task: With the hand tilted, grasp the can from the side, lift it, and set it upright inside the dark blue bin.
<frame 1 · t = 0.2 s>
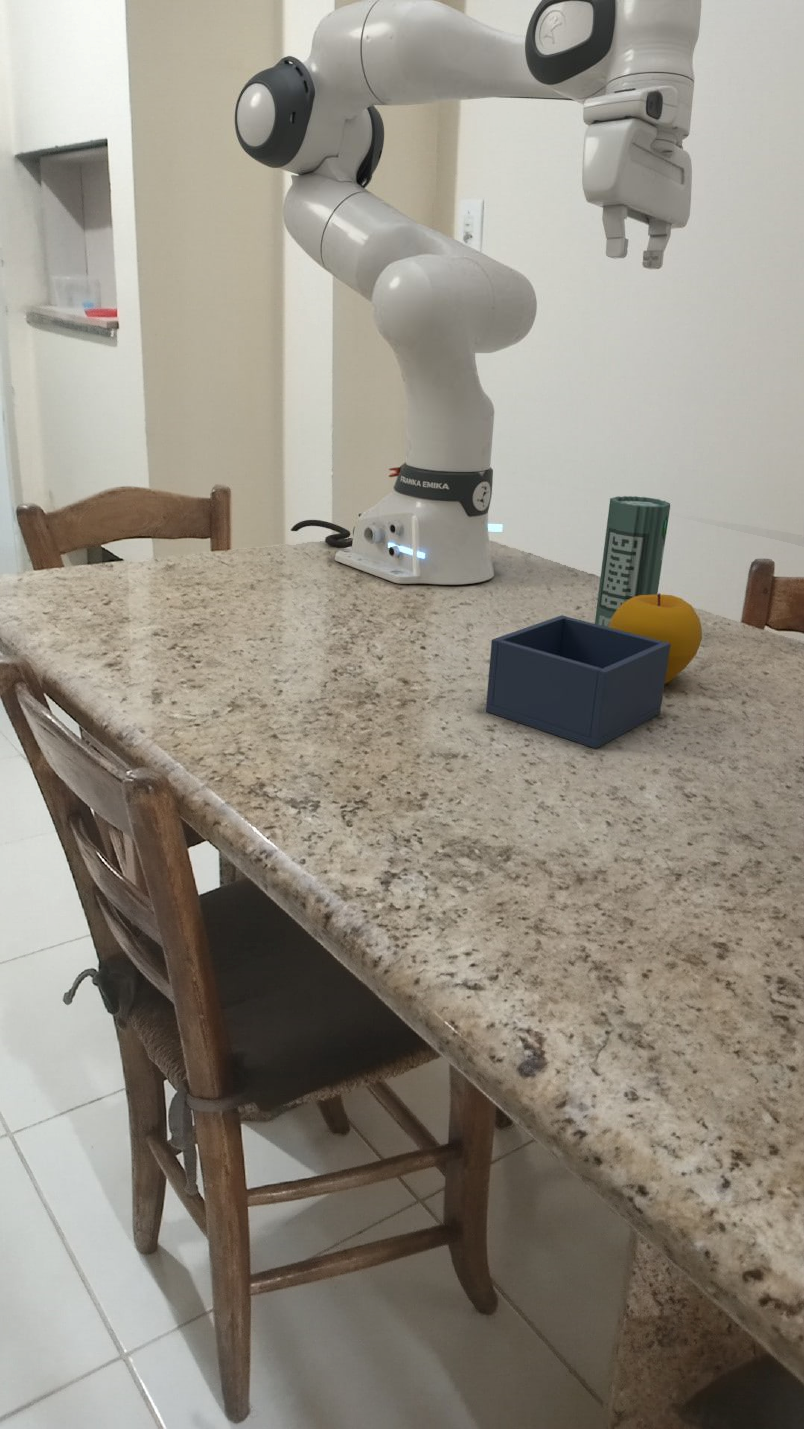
hand: (634, 263, 110), 39 cm above the table, tool pointing down, fingers open, 8 cm apart
apple: (648, 682, 102), on the table
dark blue bin: (573, 712, 92), on the table
can: (621, 636, 116), on the table
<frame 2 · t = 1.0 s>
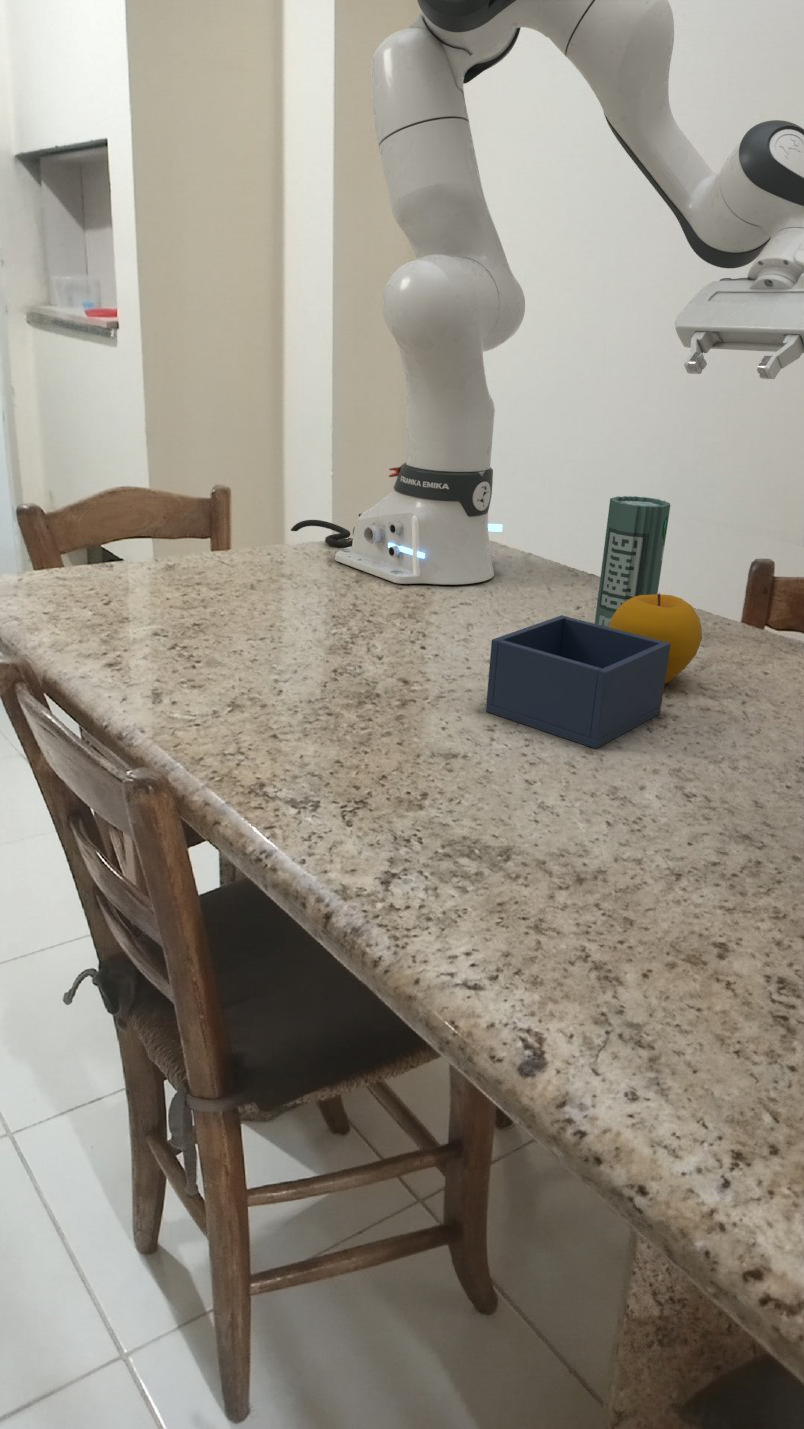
hand: (726, 372, 112), 28 cm above the table, tool tilted 45°, fingers open, 8 cm apart
nothing on the table moved.
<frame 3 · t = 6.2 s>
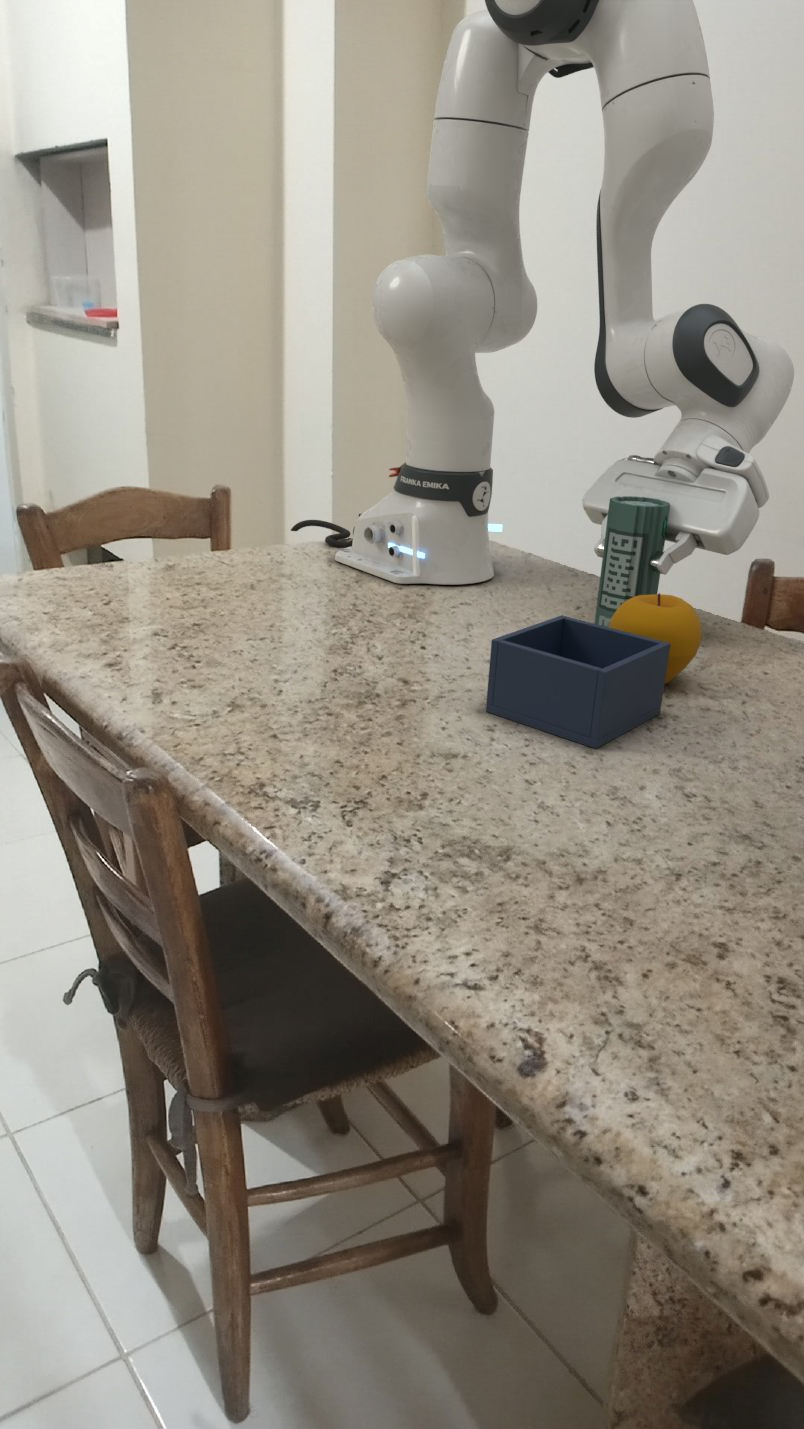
hand: (628, 562, 112), 8 cm above the table, tool tilted 45°, fingers closed on can, 6 cm apart
can: (621, 636, 116), on the table, touching gripper
everything else where it was.
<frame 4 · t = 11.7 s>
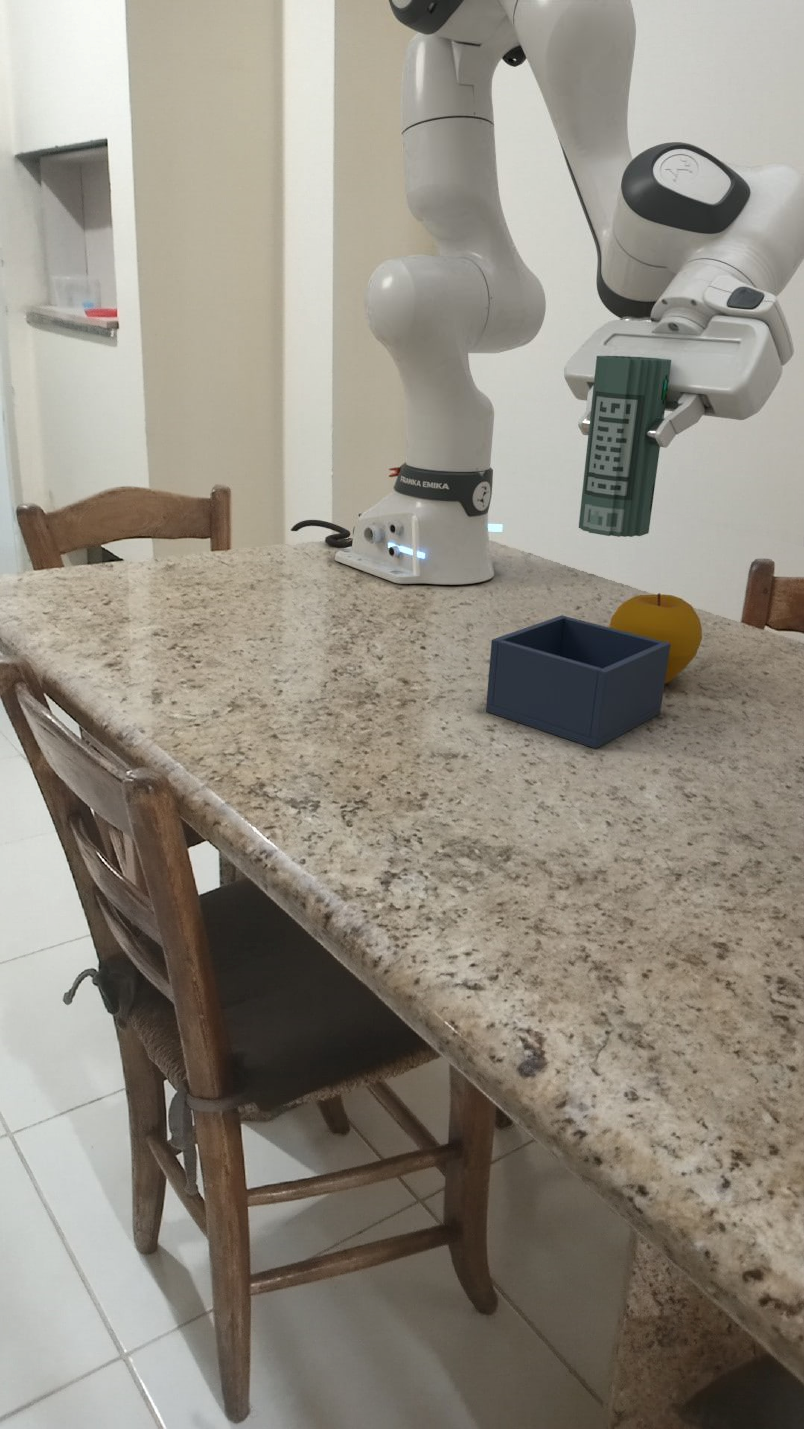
hand: (620, 436, 91), 24 cm above the table, tool tilted 45°, fingers closed on can, 6 cm apart
can: (613, 531, 94), point 15 cm above the table, touching gripper
everything else where it was.
when the fingers open (9 cm above the table, at t = 17.3 s): can stays where it is, resting on dark blue bin.
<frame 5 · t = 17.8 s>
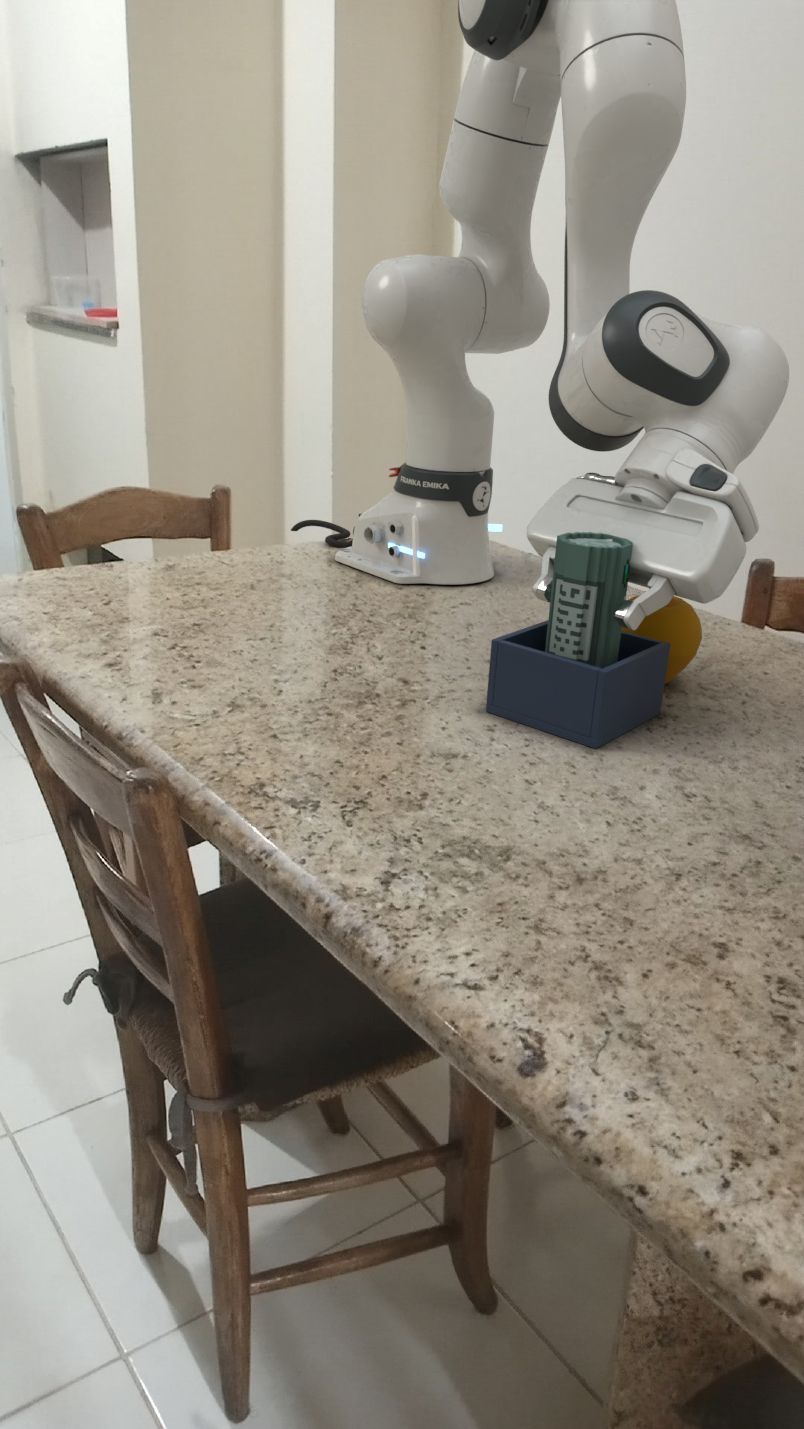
hand: (580, 610, 89), 10 cm above the table, tool tilted 45°, fingers open, 8 cm apart
can: (574, 706, 92), point 1 cm above the table, touching dark blue bin
everything else where it was.
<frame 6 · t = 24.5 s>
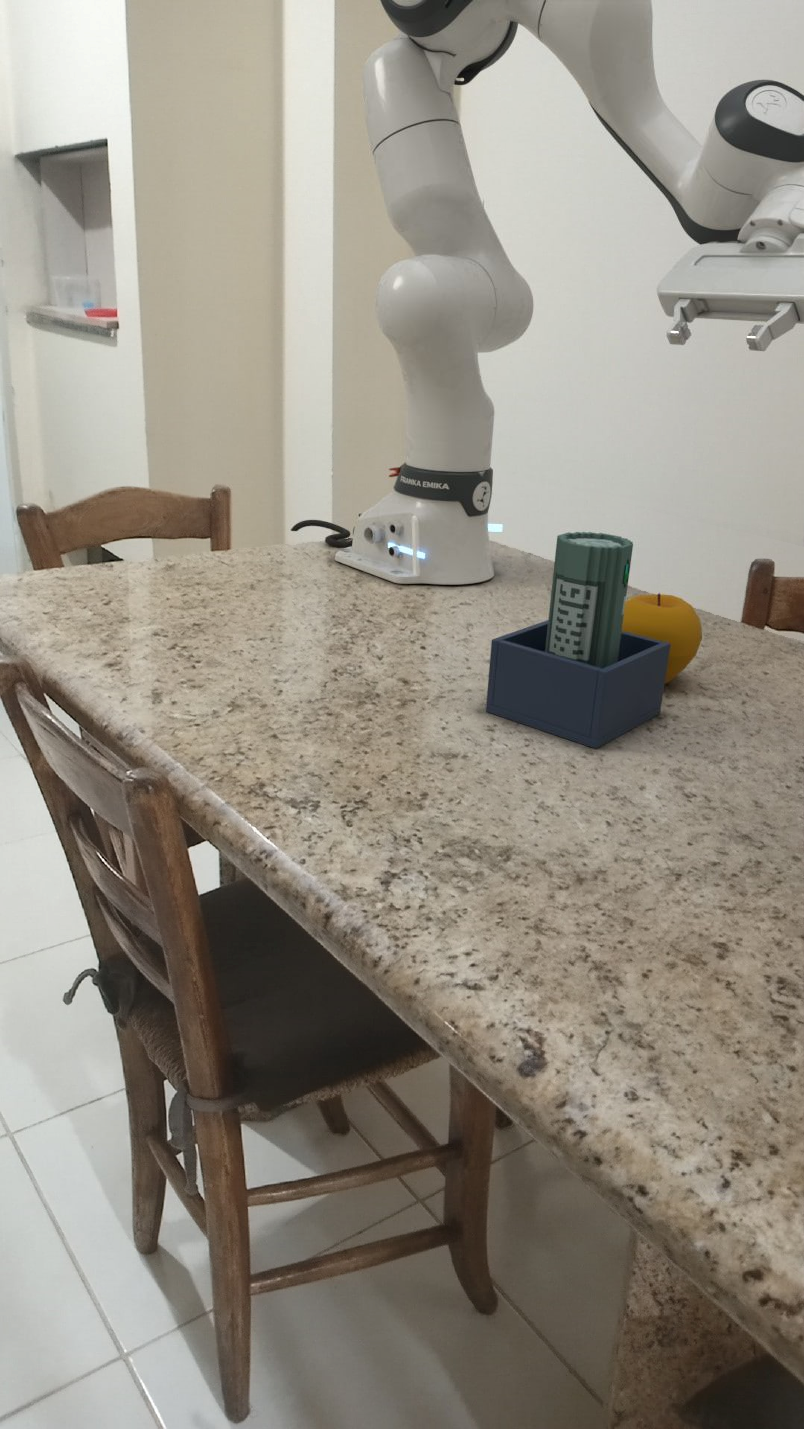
hand: (712, 343, 102), 31 cm above the table, tool tilted 45°, fingers open, 8 cm apart
nothing on the table moved.
at the end: can inside the target area in the dark blue bin (0.1 cm from its centre), point 0.6 cm above the dark blue bin's base; can tilted 0°; the gripper is holding nothing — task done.
